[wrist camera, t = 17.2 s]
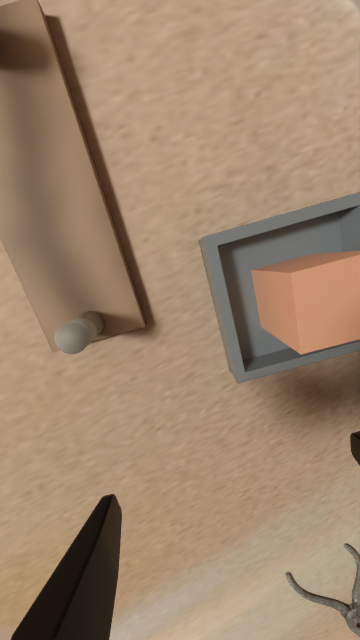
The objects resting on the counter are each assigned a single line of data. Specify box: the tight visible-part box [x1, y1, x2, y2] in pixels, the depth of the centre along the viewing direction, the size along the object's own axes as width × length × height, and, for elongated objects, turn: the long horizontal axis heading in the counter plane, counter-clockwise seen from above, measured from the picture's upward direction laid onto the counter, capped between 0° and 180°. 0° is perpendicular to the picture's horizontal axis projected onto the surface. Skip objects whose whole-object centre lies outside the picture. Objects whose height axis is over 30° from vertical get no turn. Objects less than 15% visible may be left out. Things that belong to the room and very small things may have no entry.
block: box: [251, 251, 360, 354], centre depth 16 cm, size 5×5×6 cm
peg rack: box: [0, 0, 146, 354], centre depth 14 cm, size 8×21×5 cm, turn 15°
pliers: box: [286, 544, 360, 637], centre depth 30 cm, size 10×1×20 cm
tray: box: [199, 192, 360, 383], centre depth 18 cm, size 12×12×2 cm
